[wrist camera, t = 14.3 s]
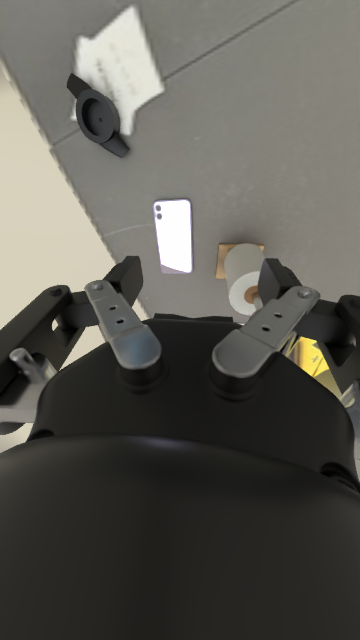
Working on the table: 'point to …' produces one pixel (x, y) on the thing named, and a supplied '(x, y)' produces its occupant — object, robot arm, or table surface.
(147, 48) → the table surface
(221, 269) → the holder base
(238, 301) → the towel stand
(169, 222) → the mobile phone
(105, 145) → the black winged disc
